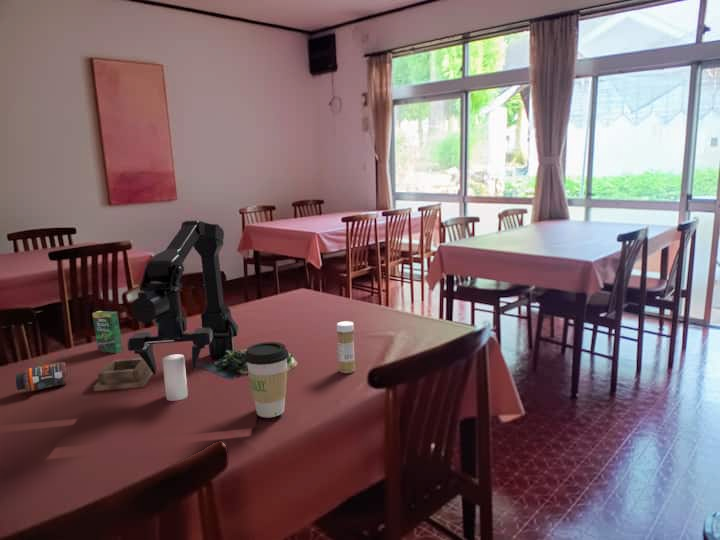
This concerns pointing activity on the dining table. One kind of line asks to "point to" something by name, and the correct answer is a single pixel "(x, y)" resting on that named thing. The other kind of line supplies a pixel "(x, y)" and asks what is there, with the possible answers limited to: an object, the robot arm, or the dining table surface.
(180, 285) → the robot arm
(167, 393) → the white tapered cylinder
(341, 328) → the sprinkles bottle
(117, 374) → the holder
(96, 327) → the coffee box
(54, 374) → the supplement bottle
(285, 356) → the coffee cup
